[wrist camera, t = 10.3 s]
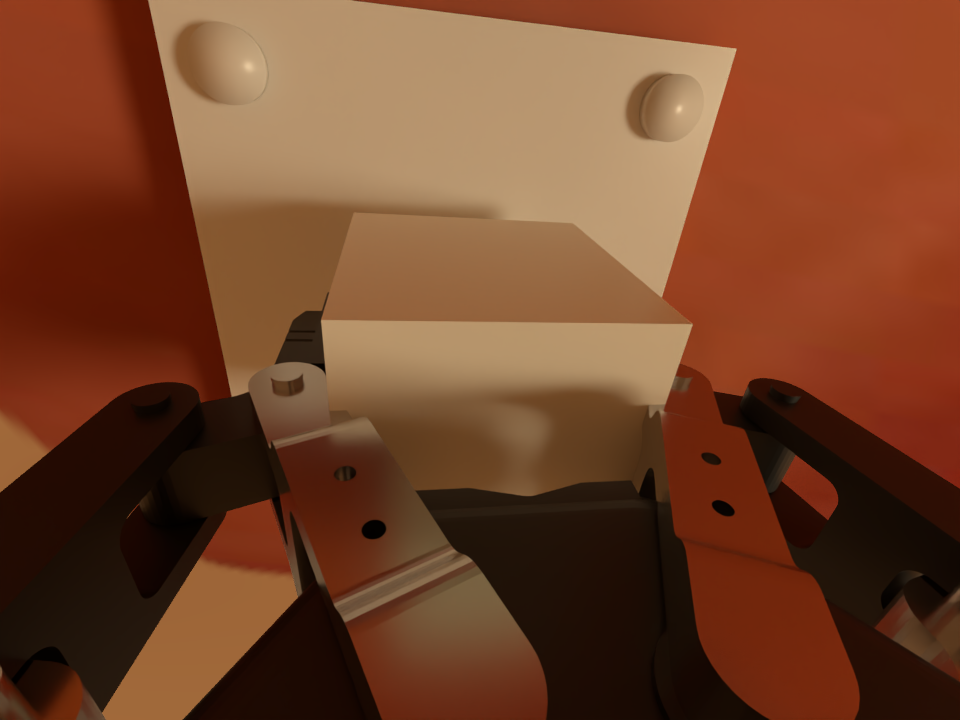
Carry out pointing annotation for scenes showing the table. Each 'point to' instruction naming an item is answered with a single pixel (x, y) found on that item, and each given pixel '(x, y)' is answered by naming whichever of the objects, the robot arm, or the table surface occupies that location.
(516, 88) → the baseplate
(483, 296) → the cream brick
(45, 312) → the table surface
